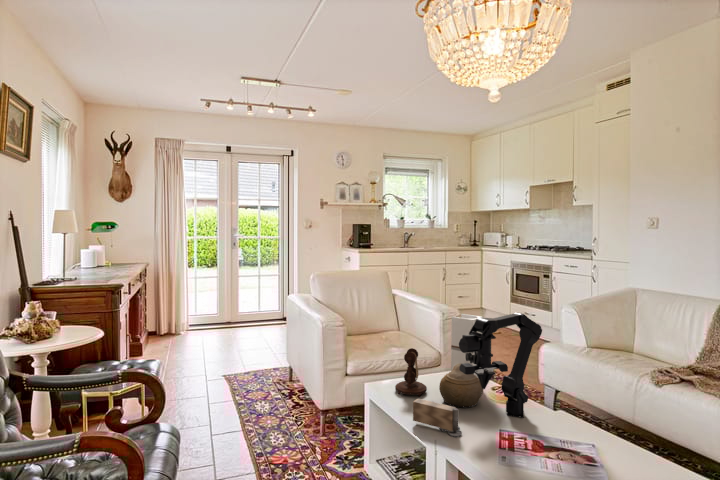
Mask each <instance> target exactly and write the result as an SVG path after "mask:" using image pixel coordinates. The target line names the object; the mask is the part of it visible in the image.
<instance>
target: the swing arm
mask: <svg viewBox="0 0 720 480" xmlns="http://www.w3.org/2000/svg"><path fill="white" fill-rule="evenodd" d="M412 421H414V422H417V423H420V424H424V425H428V426H431V427H435V428H439V429H440V428H442V429H446V430H450V431H452V430H454V431H458V426H459V409H458V408H457V407H454V406H451V405H449V404H448V405H447V404H443V403H440V402H439V403H438V402H434V401H430V400H427V399H422V398H416V399H415V400H413V402H412Z"/></svg>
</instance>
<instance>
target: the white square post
mask: <svg viewBox="0 0 720 480" xmlns="http://www.w3.org/2000/svg"><path fill="white" fill-rule="evenodd" d="M460 316H461V317H458V316H451V322H450V323H451V324H450V325H451V330H450V331H451V332H450V337H451V339H450V340H451V341H450V345H451V346H450V347H451V348H450V351H451V352H450V357H451V358H450V372H451V371H452V370H453V367H454V366H455V365H456V364H458V363H461V364H464V363H469V364H471V365H473V366H475V365H476V364H473V363H470V361H466V358H465V356H466V353H463V352H462V351H461V350H460V348H459V342H460V339H461V338H462V335H469V332H470V330H471V329H472V327H473V325H474V323H475V321H476V319H478V318H484V316H481V315H473V314H467V313H461V314H460ZM478 333H480V332H478ZM481 334H482V333H481ZM468 353H471V354H472V355H474V354H475V352H468ZM474 375H476V376H477V374H476V373H474ZM477 378H478V376H477ZM478 379H479V378H478Z"/></svg>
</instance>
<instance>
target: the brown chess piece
mask: <svg viewBox="0 0 720 480" xmlns="http://www.w3.org/2000/svg"><path fill="white" fill-rule="evenodd" d="M418 358H419V352H418V350H417V349H415V348H409V349H407V351H406V353H405V354H404V356H403V360H404V362H405V363H406V364H407V368H406V371H405V373H404V376H403V379H404V381H403V380H402V381H400V382H398V383H396V384H395V386H394V387H395V391H396V392H397V393H398V395H401V394H404V395H409V396H411V395H413V396H415V395H416V396H417V395H418V397H419V398H420V397H421V395H422V394H425V393H426V392H427V390H428V389H427V385H426V384H424V383H423V382H420V381H417V380H418V378H419V367H418Z"/></svg>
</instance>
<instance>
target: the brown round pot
mask: <svg viewBox="0 0 720 480" xmlns="http://www.w3.org/2000/svg"><path fill="white" fill-rule="evenodd" d="M460 365H461V363H458V364H456V365H455V366H454V367H453V370H452V371H451V370H450V371H449V372H448V373H446V374H445V375H444V376H443V377H442V378H441V379H440V382H439V392H440V396H441V398H442V400H443V401H444V402H446V404H448V406H452V407H456V408H461V409H466V408H467V409H468V408H472V407H476V405H477V404H478V403H479V401H480V399H481V397H482V395H483V390H484V389H482V387H481V384H480V381H479V379H478V378H477V376H476V375H474V374H469V375H467V374H464V373H463V372H461V371H460V370H459V368H460Z"/></svg>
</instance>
